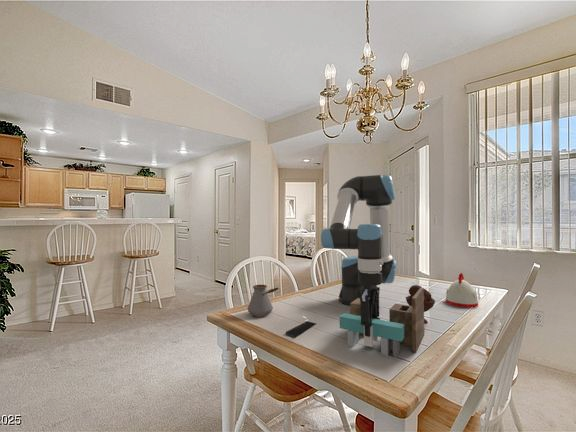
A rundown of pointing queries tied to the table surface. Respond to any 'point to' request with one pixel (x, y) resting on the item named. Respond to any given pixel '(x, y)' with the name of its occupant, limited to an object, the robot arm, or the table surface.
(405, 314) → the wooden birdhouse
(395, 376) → the table surface
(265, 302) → the coffee pot
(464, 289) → the white and red dome
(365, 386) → the table surface
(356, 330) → the teal rail
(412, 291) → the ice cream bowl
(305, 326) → the phone
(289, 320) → the table surface
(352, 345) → the grey stand
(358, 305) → the block
